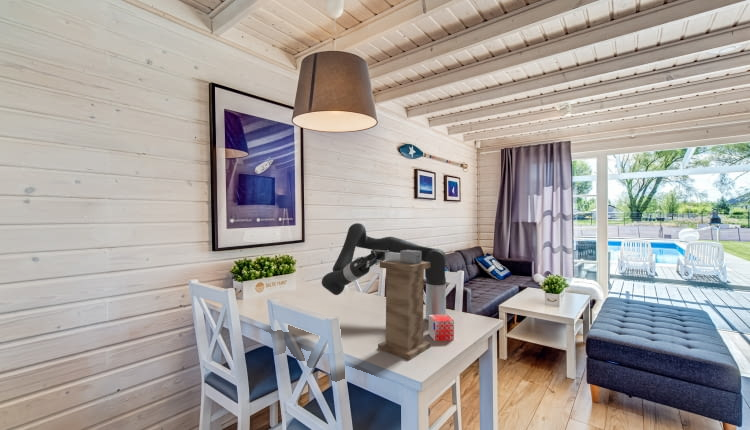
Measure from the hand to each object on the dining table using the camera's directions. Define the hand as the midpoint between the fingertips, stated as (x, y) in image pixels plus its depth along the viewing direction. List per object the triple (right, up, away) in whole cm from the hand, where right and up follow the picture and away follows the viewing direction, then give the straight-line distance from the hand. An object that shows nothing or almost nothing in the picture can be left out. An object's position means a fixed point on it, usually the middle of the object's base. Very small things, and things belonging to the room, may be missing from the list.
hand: (382, 253), depth 126 cm
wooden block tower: (+7, -35, -6) cm, 36 cm away
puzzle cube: (+24, -35, +4) cm, 43 cm away
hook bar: (+5, -2, -4) cm, 6 cm away
